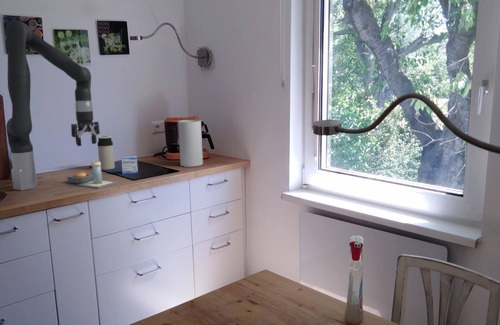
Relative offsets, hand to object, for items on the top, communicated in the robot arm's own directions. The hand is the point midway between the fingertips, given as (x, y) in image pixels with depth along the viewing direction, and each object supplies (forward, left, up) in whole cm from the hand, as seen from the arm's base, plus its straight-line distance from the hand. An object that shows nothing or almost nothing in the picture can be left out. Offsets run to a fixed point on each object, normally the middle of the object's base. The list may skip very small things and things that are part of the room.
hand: (86, 144), depth 217 cm
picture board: (0, -5, -19) cm, 19 cm away
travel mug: (+29, +20, -19) cm, 40 cm away
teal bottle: (0, -5, -18) cm, 19 cm away
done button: (+1, +8, -17) cm, 19 cm away
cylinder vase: (+56, -18, -19) cm, 62 cm away
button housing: (+1, +8, -19) cm, 20 cm away
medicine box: (+26, 0, -19) cm, 32 cm away
